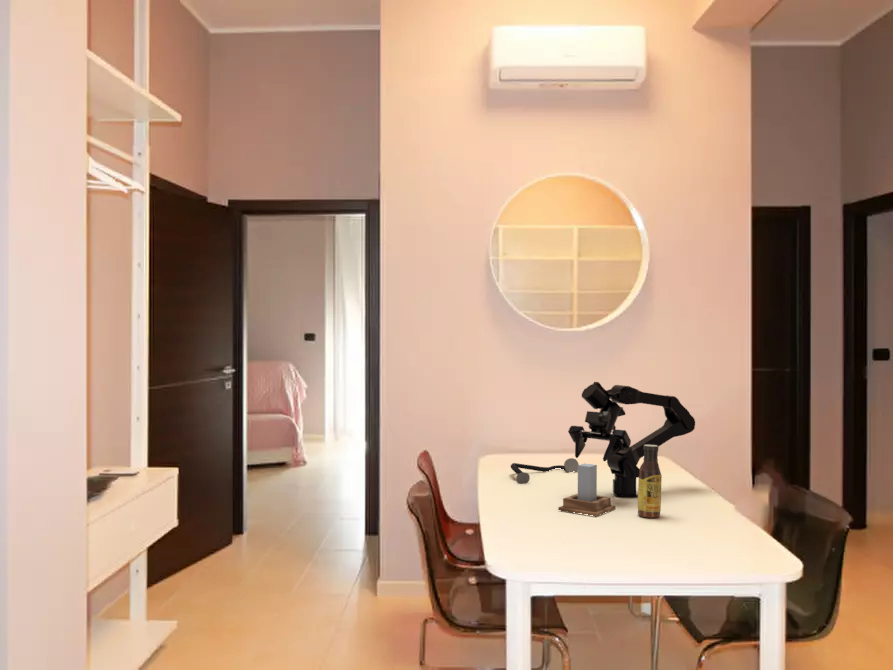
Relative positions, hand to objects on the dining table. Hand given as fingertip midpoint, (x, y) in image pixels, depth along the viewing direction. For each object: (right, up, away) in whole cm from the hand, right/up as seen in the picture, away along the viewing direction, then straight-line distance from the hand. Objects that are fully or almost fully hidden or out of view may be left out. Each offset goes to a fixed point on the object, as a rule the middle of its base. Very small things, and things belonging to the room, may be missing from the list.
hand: (589, 458), depth 232 cm
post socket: (-2, -14, -8) cm, 16 cm away
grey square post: (-2, -13, -8) cm, 15 cm away
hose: (-9, -14, +45) cm, 48 cm away
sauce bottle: (+14, -14, -15) cm, 25 cm away
